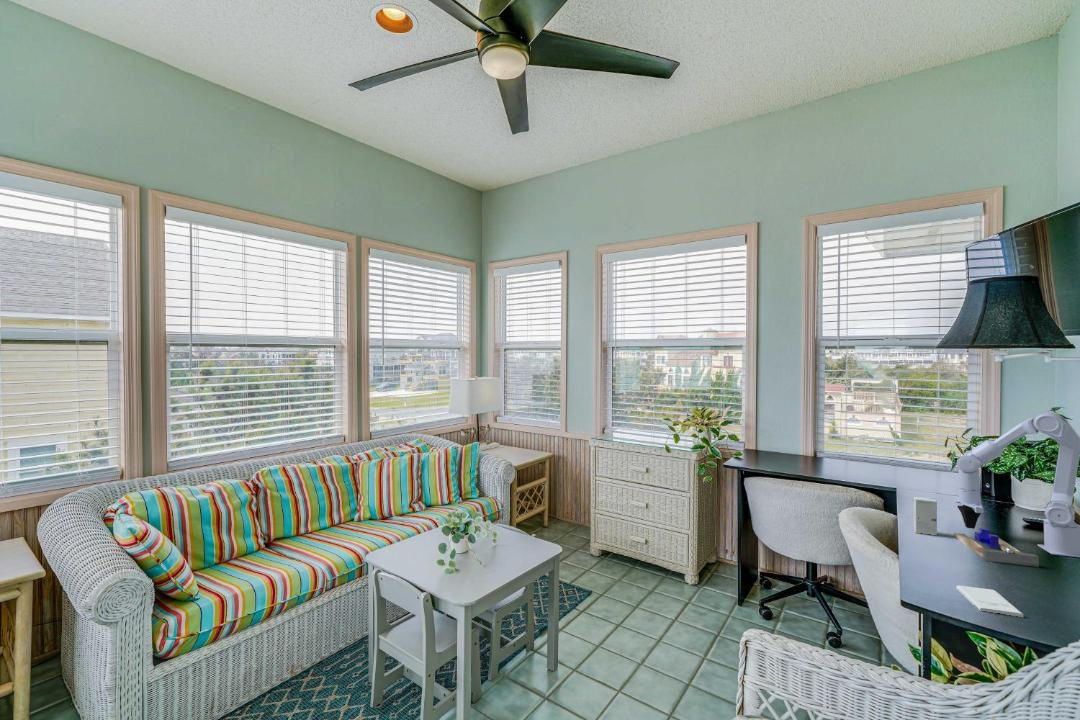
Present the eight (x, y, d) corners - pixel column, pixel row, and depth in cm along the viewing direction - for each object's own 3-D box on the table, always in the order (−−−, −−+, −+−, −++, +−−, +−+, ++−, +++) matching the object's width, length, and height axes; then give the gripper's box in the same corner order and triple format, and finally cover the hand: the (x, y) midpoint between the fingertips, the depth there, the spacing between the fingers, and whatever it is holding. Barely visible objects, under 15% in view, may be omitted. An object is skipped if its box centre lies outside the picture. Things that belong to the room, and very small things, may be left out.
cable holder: (974, 539, 161) (974, 527, 161) (988, 540, 160) (987, 528, 160) (984, 547, 154) (984, 535, 154) (998, 549, 153) (998, 536, 153)
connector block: (1034, 564, 140) (1034, 550, 141) (1038, 567, 139) (1038, 552, 139) (983, 558, 145) (983, 544, 145) (986, 561, 143) (986, 547, 143)
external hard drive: (995, 596, 123) (1023, 620, 112) (956, 590, 126) (979, 613, 114) (995, 589, 123) (1023, 613, 112) (956, 584, 126) (979, 606, 115)
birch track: (998, 540, 160) (997, 536, 160) (1034, 564, 140) (1034, 560, 140) (953, 535, 164) (953, 532, 164) (983, 558, 145) (983, 554, 145)
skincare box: (915, 533, 167) (915, 499, 167) (913, 529, 171) (912, 496, 171) (937, 536, 164) (937, 501, 164) (934, 532, 168) (934, 498, 168)
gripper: (946, 483, 174) (947, 520, 174) (964, 493, 161) (965, 533, 160) (970, 484, 171) (971, 522, 171) (990, 495, 158) (991, 535, 158)
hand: (970, 527), depth 166 cm, fingers closed
